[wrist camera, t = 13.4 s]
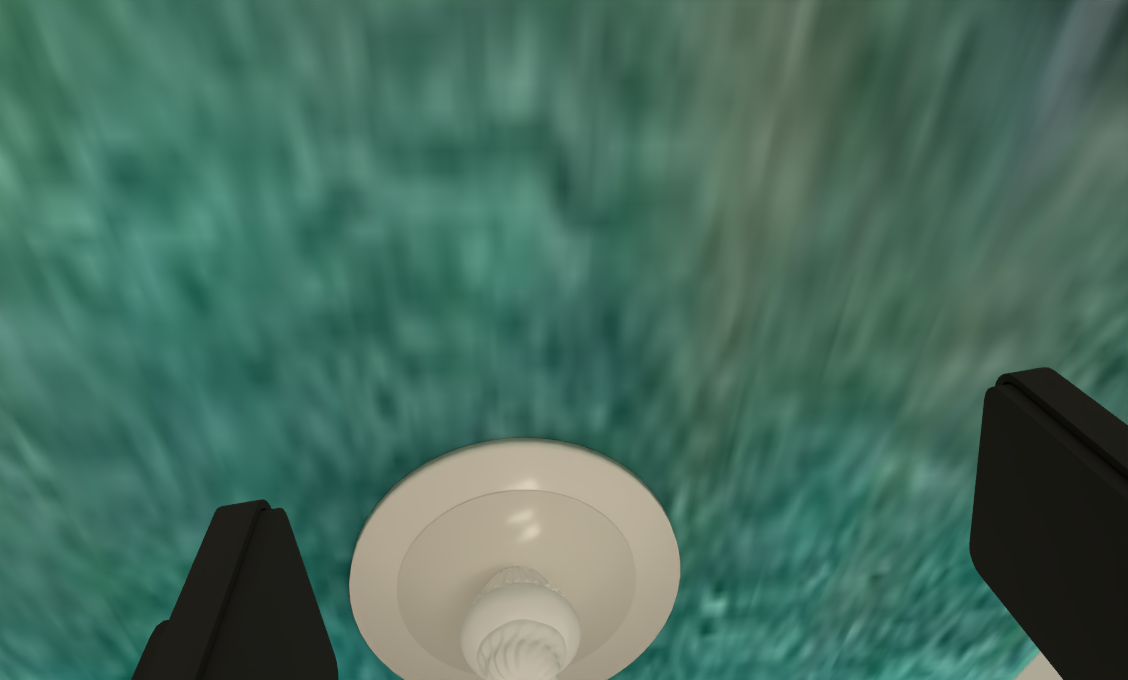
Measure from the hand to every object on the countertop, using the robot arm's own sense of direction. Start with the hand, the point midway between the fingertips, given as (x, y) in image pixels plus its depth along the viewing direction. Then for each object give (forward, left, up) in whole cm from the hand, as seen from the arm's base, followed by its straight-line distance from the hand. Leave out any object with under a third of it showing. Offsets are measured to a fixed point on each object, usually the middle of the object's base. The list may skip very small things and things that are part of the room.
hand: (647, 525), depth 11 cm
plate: (+4, +25, -28) cm, 38 cm away
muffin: (+4, +25, -27) cm, 37 cm away
